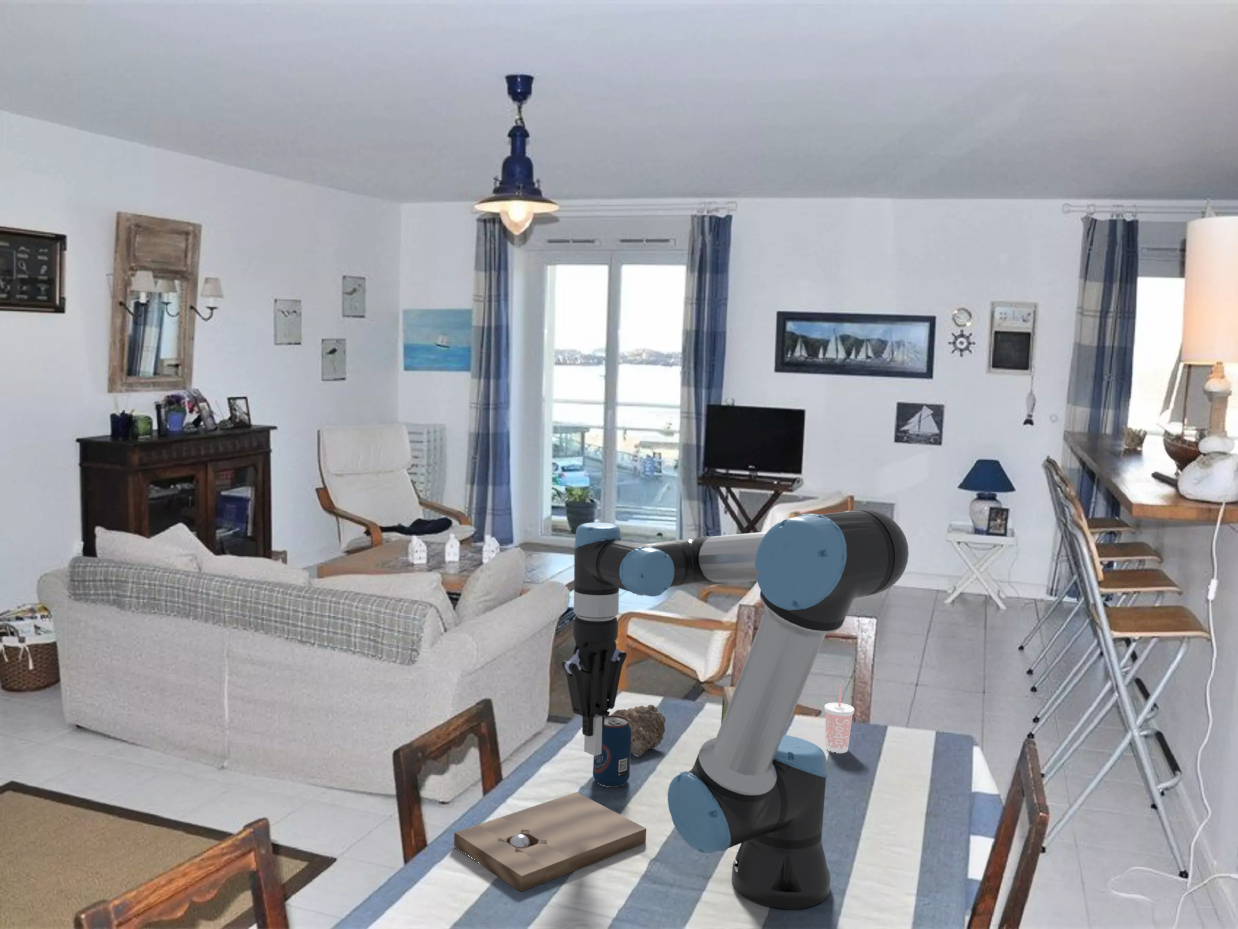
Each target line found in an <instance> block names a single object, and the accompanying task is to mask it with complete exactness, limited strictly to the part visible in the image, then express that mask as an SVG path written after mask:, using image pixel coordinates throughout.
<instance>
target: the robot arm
mask: <svg viewBox="0 0 1238 929" xmlns="http://www.w3.org/2000/svg"><path fill="white" fill-rule="evenodd" d="M906 537H907V536H906V535H905V533H904V531H903V529H902V528H901V527H900V526H899V525H898V523H897V522H896V521H895V520H893V519H892V518H891V517H890V516H887V515H886V514H885V513H882V512H879V511H878V510H876V511H875V510H871V509H854V510H853V509H851V510H845V511H839V512H830V513H822V514H821V513H820V514H819V513H803V514H800V515H796V516H794V517H790V518H786V519H783V520H780V521H779V522H777V523H775V524H774V525H773V526H772V527H771V528H769V529H768V531H763V532H762V531H761V532H750V533H738V534H728V535H727V534H726V535H715V536H710V535H703V536H696V537H691V538H690V537H689V538H683V539H676V540H669V541H668V540H666V541H655V542H647V543H631V542H627V541H623V540H622V536H621V528H620V527H619V526H618V525H616V524H615V523H609V522H587V523H586V522H585V523H582V524H580V525H578V526H577V528H576V529H575V541H574V547H573V551H574V552H573V553H574V555H573V558H574V559H573V560H574V561H573V565H574V567H573V571H574V572H573V573H574V574H573V581H574V582H573V585H574V586H573V587H574V588H573V614H575V616H574V617H573V619H572V620H573V622H572V626H573V627H572V629H573V630H572V636H573V639H574V641H575V646H574V648H573V652H572V654H573V655H572V656H571V658H570V659H569V660H563V661H562V663H561V667H562V669H563V671H564V673H565V674H566V680H567V687H568V691H569V698H570V703H571V710H572V712H573V714H576V715H578V716H581V718H582V725H581V726H582V727H581V728H582V729H581V731H582V735H583V736H584V745H583V747H584V748H583V751H584V752H585V753H587V754H589V755H590V756H591V755H592V756H593V757H594V756H596V755H600V754H601V752H602V732H604V720H605V716H608V715H611V714H610V713H611V712H610V711H609V710H613V709H614V707H615V706H616V705H615V704H616V700H617V695H618V689H619V684H620V679H621V673H622V668H623V665H624V663H625V661H626V659H627V655H628V654H627V652H626V651H622V650H620V649H618V647H617V643H616V640H617V639H618V636H619V618H618V617H617V616H618V615H619V606H620V605H619V604H620V603H619V602H620V598H619V596H620V595H619V594H620V593H619V592H620V590H623V591H626V592H630V593H632V594H633V595H634V594H635V595H637V596H642V597H643V596H647V597H658V596H660V595H662V594H663V593H664V592H665V591H668V590H669V589H670V588H675V587H679V586H680V587H681V586H687V585H696V584H716V583H733V582H734V583H736V582H737V583H738V582H757V586H758V587H759V589H760V592H759V598H760V601H761V602H762V604H763V606H764V613H763V615H762V618H761V620H760V622H759V625H758V628H757V631H756V633H755V636H754V638H753V642H752V643H751V646H750V648H749V651H748V654H747V656H746V660H745V661H744V664H743V668H742V670H741V672H740V675H739V677H738V680H737V683H736V685H735V686H734V687H735V690H734V693H733V695H732V698H731V700H730V703H729V706H728V708H727V711H726V713H725V716H724V719H723V721H722V724H721V723H720V727H719V729H718V732H717V734H716V737H714V738H711V739H708V740H707V741H705V742H704V743H703V744H702V745H701V747H700V749H699V752H698V754H697V757H696V759H695V762H694V764H693V767H692V768H691V769H690V770H689V771H682V772H680V773H679V774H678V775H675V776H674V777H673V778H672V779H671V781H670V783H669V786H668V789H667V806H668V810H669V813H670V816H671V820H672V823H673V825H674V827H675V829H676V831H677V834H679V836H680V838H681V839H682V840H683V842H685V843H686V844H687V845H688V846H689V847H690V848H691V849H693V850H695V851H696V852H699V853H702V854H712V853H715V852H716V853H717V852H723V851H727V850H728V849H730V848H732V847H735V846H738V845H740V846H739V848H738V851H737V853H736V855H735V858H734V860H733V863H732V870H731V883H732V885H733V887H734V889H735V890H736V891H737V892H738V893H739V894H740V895H742V896H743V897H745V898H746V899H748V900H749V901H752V902H755V903H757V904H760V905H762V906H765V907H771V908H776V909H782V910H783V909H784V910H798V909H806V908H812V907H815V906H817V905H819V904H821V903H823V902H824V901H826V899H828V896H829V895H830V892H831V874H830V870H829V868H828V864H827V859H826V856H825V854H826V853H825V850H824V847H823V840H822V836H823V824H824V823H823V822H824V809H825V808H824V807H825V797H826V784H827V783H826V782H827V778H828V773H827V757H826V754H825V752H824V750H823V749H822V748H821V747H819V745H817V744H816V743H813V742H811V741H809V740H806V739H803V738H799V737H797V736H791V735H787V734H785V733H786V730H787V728H788V725H789V723H790V721H791V718H792V716H793V714H794V711H795V709H796V707H797V705H798V702H799V699H800V698H801V694H802V692H803V690H804V687H805V685H806V683H807V681H808V678H809V676H810V673H811V671H812V668H813V666H814V663H815V662H816V658H817V656H818V654H819V652H820V649H821V647H822V644H823V641H824V640H825V637H826V635H827V634H829V633H830V634H831V633H834V632H837V631H839V630H840V629H842V628H841V627H842V626H843V624H844V622H845V619H846V617H847V616H848V613H849V610H850V608H851V605H852V604H853V601H854V600H855V599H859V598H863V597H868V596H873V595H878V594H880V593H882V592H884V591H886V590H889V589H890V588H892V587H893V586H894V585H895V584H896V583H897V582H898V581H899V580H900V579H901V578H902V576H903V574H904V572H905V570H906V568H907V565H908V563H909V562H908V561H909V544H908V541H907V538H906Z"/></svg>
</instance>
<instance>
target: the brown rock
mask: <svg viewBox="0 0 1238 929" xmlns="http://www.w3.org/2000/svg"><path fill="white" fill-rule="evenodd" d="M610 715H616V716H622V717H625V718H627V719H628V721H629V725H630V727H631V730H632V731H631V755H633V754H635V755H638V756H640V757H642V756H643V754H644V753H646V751H648V750H649V749H650V748H654V749H656V748H657V746H659V745H661V743H662V741H663V740H664V734H665V732H666V726H665V723H666V717H665V716H664V715H663V713H662V712H660V710H658V708H657V707H656V706H655V705H653V704H649V705H647V706H644V705H640V706H634V708H632V707H631V708H628V709H625V708H624V709H616V711H614V712H613V713H612V714H610ZM655 747H656V748H655ZM650 750H651V749H650Z"/></svg>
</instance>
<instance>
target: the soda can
mask: <svg viewBox="0 0 1238 929" xmlns="http://www.w3.org/2000/svg"><path fill="white" fill-rule="evenodd" d="M631 731H632V730H631V727H630V725H629V721H628V719H627V718H625V717H622V716H616V715H611V714H609V715H608V716H605V720H604V732H602V752H601V754H600V755H596V756H594V755H593V764H592V765H593V766H592V776H593V779H594V781H595V782H596V784H597V783H599V784H601V785H605V786H609V787H616V788H618V787H617V786H621V785H623V786H624V785H626V783H627V782H628V780H629V778H630V777H631V776H630V775H631V773H630V772H631V755H632V753H631ZM599 784H598V785H599ZM601 785H600V786H601ZM621 787H622V786H621Z"/></svg>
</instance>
